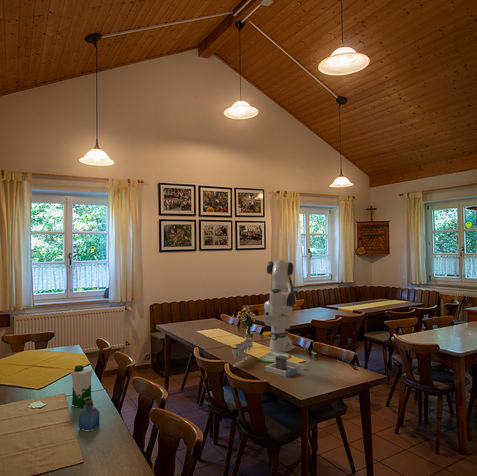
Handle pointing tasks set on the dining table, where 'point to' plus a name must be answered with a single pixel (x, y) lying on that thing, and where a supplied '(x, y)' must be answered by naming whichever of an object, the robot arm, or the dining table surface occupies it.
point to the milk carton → (81, 386)
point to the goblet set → (241, 350)
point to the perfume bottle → (89, 417)
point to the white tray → (290, 370)
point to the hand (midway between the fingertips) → (277, 333)
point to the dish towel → (272, 356)
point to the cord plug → (281, 362)
